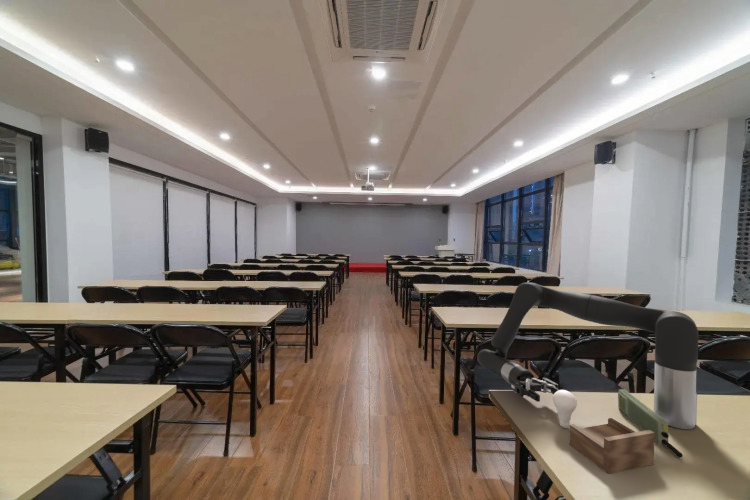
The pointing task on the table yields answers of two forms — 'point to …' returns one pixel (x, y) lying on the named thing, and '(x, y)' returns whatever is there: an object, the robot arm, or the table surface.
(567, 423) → the lightbulb
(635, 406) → the handheld radio
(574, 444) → the stand
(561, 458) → the table surface
